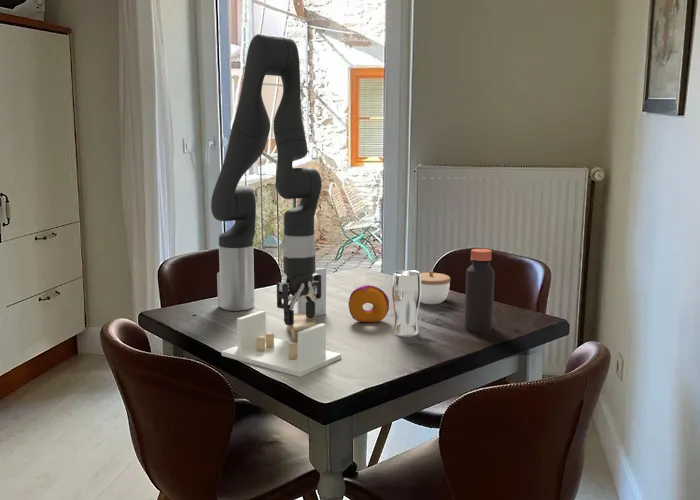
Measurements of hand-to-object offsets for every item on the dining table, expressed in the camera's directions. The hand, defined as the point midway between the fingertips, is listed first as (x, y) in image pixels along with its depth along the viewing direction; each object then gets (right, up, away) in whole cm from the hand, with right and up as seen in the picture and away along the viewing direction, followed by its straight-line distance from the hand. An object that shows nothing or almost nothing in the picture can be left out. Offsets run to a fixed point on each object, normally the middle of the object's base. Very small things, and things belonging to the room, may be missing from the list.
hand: (299, 321), depth 168 cm
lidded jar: (+35, +2, +31) cm, 47 cm away
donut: (+17, -2, +11) cm, 20 cm away
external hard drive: (+2, -1, +18) cm, 18 cm away
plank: (+1, -4, +1) cm, 4 cm away
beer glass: (+25, -3, +3) cm, 26 cm away
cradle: (-3, -6, -15) cm, 17 cm away
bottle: (+44, -3, +6) cm, 44 cm away
